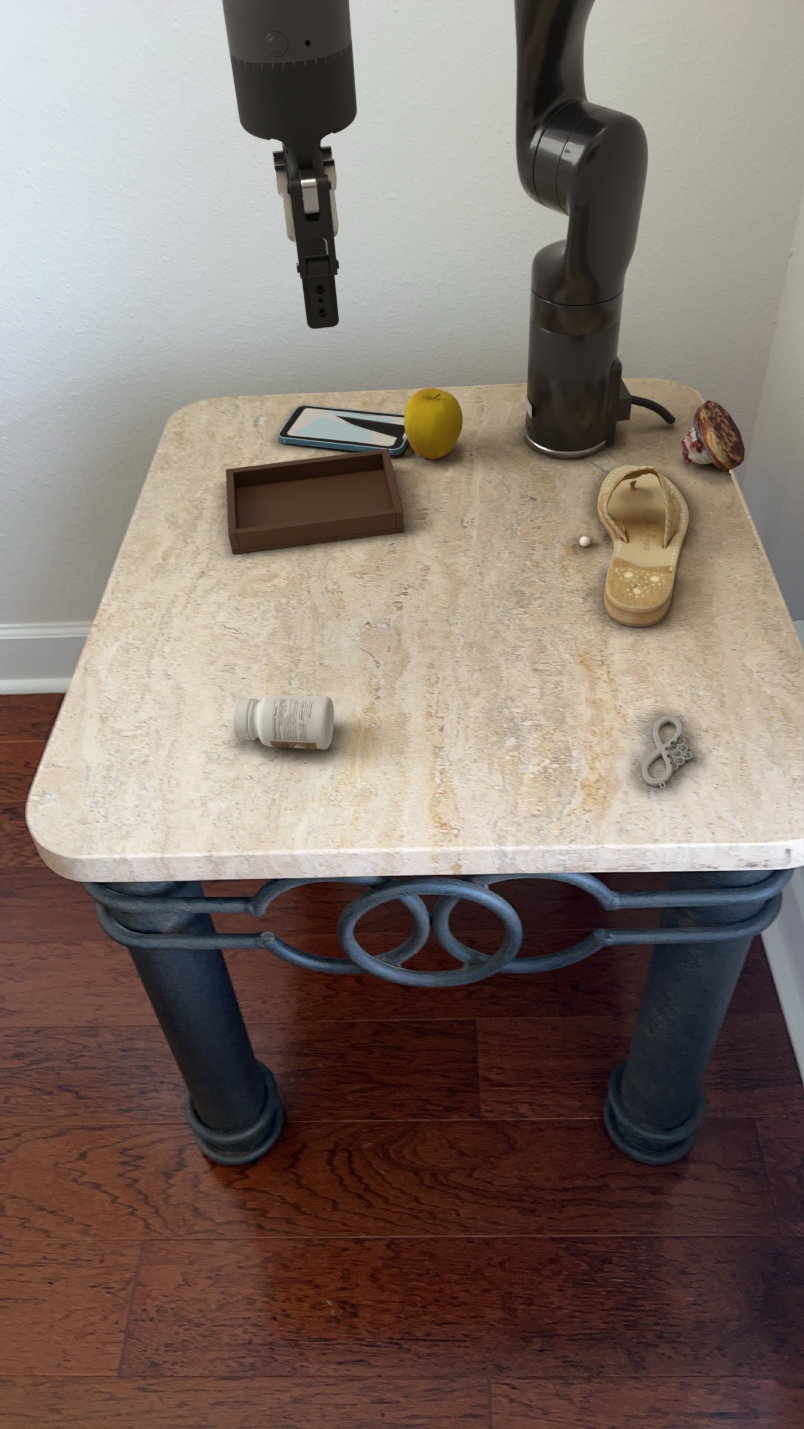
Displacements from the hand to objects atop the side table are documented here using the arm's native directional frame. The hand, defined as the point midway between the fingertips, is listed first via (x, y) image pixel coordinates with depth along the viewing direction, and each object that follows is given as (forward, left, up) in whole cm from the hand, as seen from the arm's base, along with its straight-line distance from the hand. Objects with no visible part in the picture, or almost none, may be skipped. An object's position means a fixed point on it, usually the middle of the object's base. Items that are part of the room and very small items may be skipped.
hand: (318, 298), depth 75 cm
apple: (-11, -25, -31) cm, 42 cm away
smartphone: (-2, -31, -31) cm, 44 cm away
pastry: (-41, -17, -27) cm, 52 cm away
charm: (-21, +21, -31) cm, 43 cm away
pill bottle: (+3, +15, -29) cm, 33 cm away
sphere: (-23, -3, -30) cm, 38 cm away
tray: (+3, -18, -31) cm, 36 cm away
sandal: (-29, -5, -31) cm, 43 cm away
